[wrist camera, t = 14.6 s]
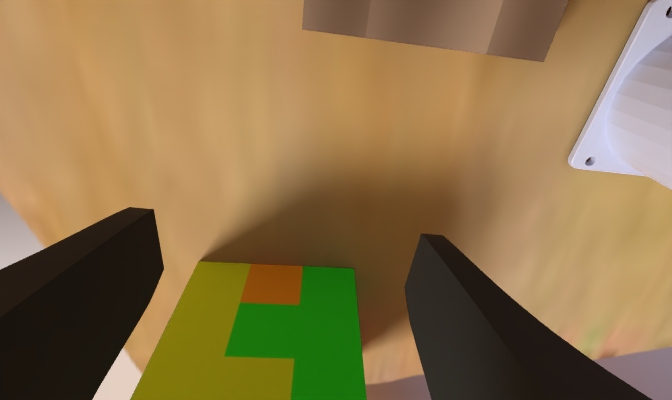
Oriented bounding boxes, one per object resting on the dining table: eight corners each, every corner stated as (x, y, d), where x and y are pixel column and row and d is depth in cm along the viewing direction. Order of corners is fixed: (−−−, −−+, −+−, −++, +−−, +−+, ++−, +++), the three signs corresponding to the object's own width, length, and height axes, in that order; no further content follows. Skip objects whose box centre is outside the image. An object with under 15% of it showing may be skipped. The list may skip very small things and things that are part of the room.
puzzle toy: (214, 357, 27) (161, 527, 18) (199, 260, 22) (114, 431, 13) (340, 361, 27) (346, 527, 19) (353, 267, 22) (370, 436, 14)
